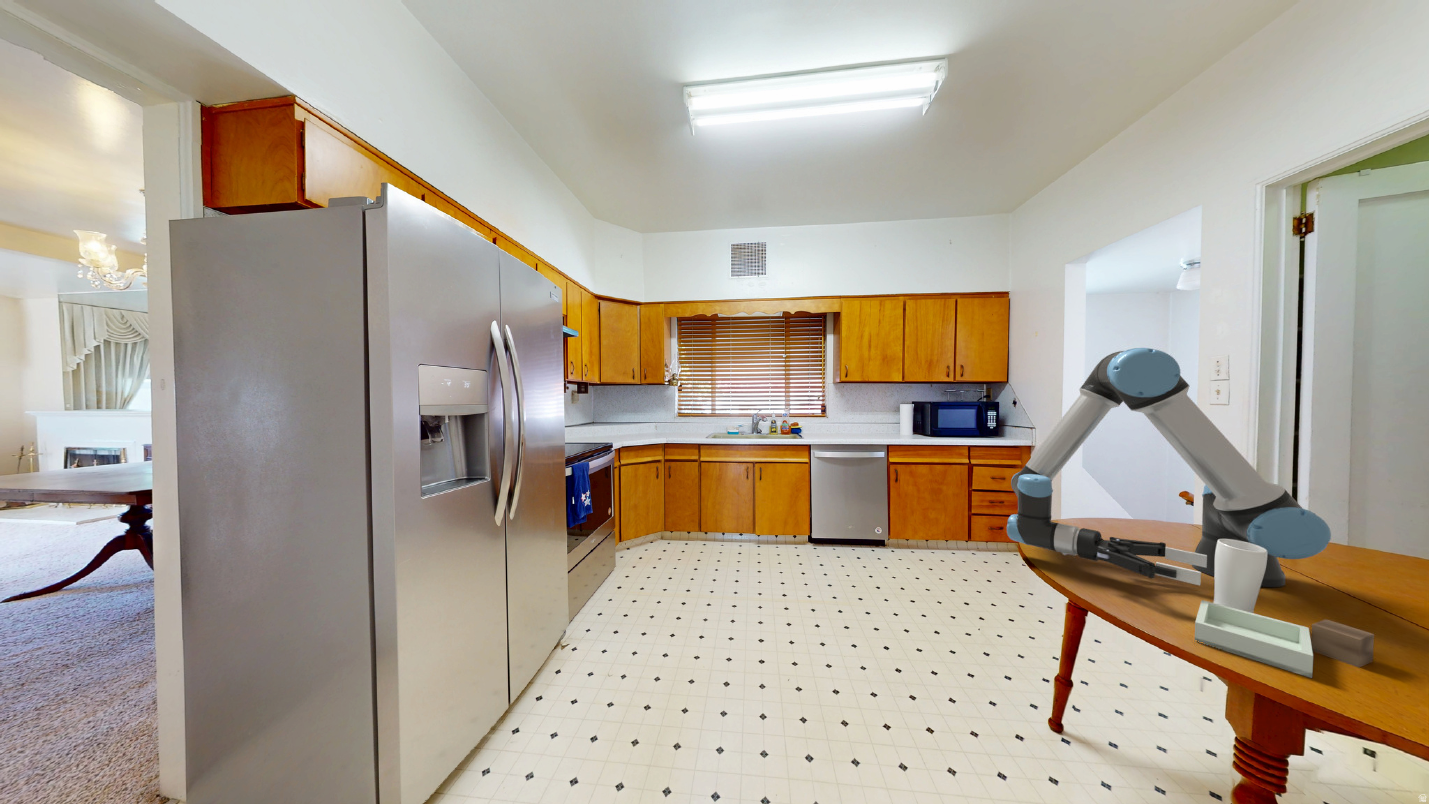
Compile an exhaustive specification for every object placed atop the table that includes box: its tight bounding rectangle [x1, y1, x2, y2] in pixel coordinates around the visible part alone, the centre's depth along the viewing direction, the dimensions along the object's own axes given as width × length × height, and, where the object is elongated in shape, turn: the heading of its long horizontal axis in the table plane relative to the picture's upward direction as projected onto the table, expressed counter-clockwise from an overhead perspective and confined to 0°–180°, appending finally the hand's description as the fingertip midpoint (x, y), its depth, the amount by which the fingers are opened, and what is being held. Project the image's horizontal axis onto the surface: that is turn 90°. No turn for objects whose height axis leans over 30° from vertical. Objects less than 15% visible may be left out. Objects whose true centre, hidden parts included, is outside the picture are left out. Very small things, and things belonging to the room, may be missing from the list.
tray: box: [1194, 599, 1314, 679], centre depth 80 cm, size 13×13×4 cm
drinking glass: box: [1213, 539, 1268, 613], centre depth 89 cm, size 7×7×15 cm
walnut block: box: [1310, 618, 1375, 669], centre depth 76 cm, size 5×5×5 cm
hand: (1204, 569), depth 93 cm, fingers open, 13 cm apart
